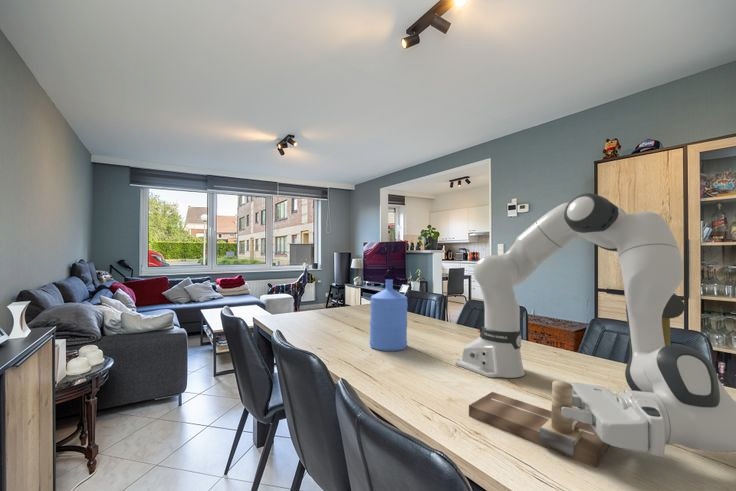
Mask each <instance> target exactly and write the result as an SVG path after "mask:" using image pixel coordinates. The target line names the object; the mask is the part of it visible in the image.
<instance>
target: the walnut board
mask: <svg viewBox="0 0 736 491" xmlns="http://www.w3.org/2000/svg"><path fill="white" fill-rule="evenodd" d="M551 416H552V410H549V409H545V408H543V407H539V406H537V405H533V404H530V403H527V402H524V401H522V400H518V399H516V398H513V397H510V396H506V395H503V394H500V393H497V392H494V391H491V392H490V393H487V394H486V395H484V396H482V397H481V398H479V399H478V400H476V401H474V402H473V403H470V404H469V405H468V417H471V418H473V419H476V420H478V421H481V422H483V423H486V424H487V425H491V426H492V427H495V428H497V429H501V430H503V431H505V432H508V433H510V434H512V435H515V436H517V437H520V438H523V439H526V440H528V441H530V442H533V443H535V444H537V445H540V446H543V447H545V448H548V449H549V450H553V451H554V452H557V453H560V454H562V455H565V456H567V457H569V458H572V459H575V460H577V461H580V462H581V463H584V464H587V465H589V466H592V467H595V468H597V467H598V465H599V464H600V462H601V460H602V459H603V457H604V455H605V453H606V452H607V450H608V449H609V447H610V445H609V444H607V443H605V442H603V441H602V440H601V439H600V437H599V436H598V435H597V433H596V432H595V431H594V429H593V428H592V426H591V425H590V424H587V423H583V422H580V421H578V420H575V419H573V418H572V427H573V428H574V426H578V427H579V430H581V431H582V437H581V438H580V439H579V441H578V442H577V443H576V445H575V446H574V455H571V454H568V453H566V452H563V451H561V450H559V449H556V448H554V447H551V446H549V445H547V444H544V443H542V442H540V428H541V427H542V426H543V425H544V424H545V423H546V422H547V421H548V420H549V419H551Z"/></svg>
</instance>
